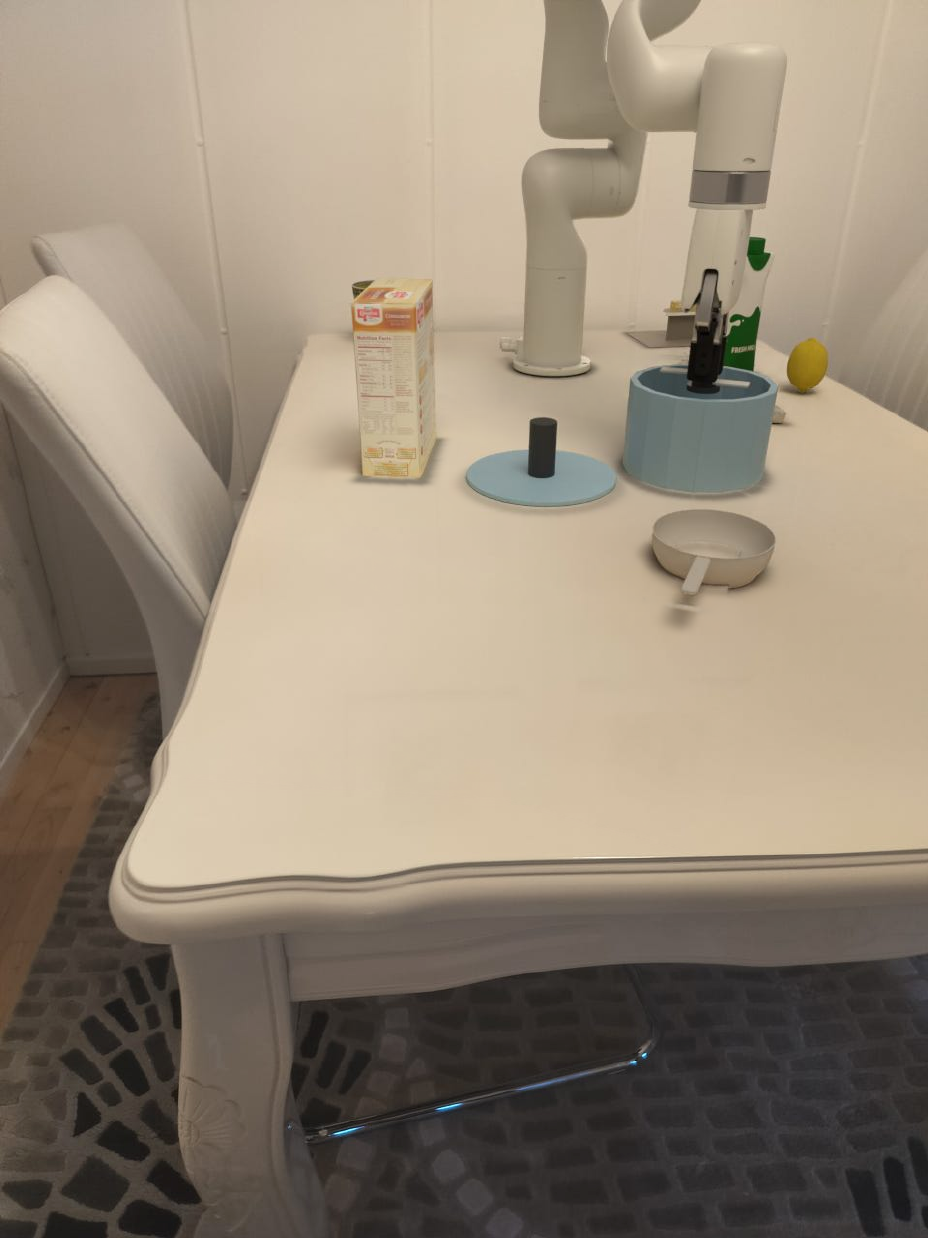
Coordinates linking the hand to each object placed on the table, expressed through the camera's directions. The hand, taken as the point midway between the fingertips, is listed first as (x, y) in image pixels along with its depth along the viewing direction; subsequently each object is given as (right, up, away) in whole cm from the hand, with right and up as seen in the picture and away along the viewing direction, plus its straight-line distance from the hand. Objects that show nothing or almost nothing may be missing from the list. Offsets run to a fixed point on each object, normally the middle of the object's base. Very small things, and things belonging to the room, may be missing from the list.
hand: (704, 375), depth 97 cm
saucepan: (-5, -24, -19) cm, 31 cm away
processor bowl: (0, -10, +6) cm, 11 cm away
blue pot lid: (-18, -11, +2) cm, 21 cm away
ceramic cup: (-41, +23, +63) cm, 78 cm away
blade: (0, -1, +1) cm, 2 cm away
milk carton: (+15, +13, +45) cm, 50 cm away
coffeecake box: (-34, -8, +10) cm, 36 cm away
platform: (+14, +25, +67) cm, 72 cm away
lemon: (+24, +7, +35) cm, 43 cm away
